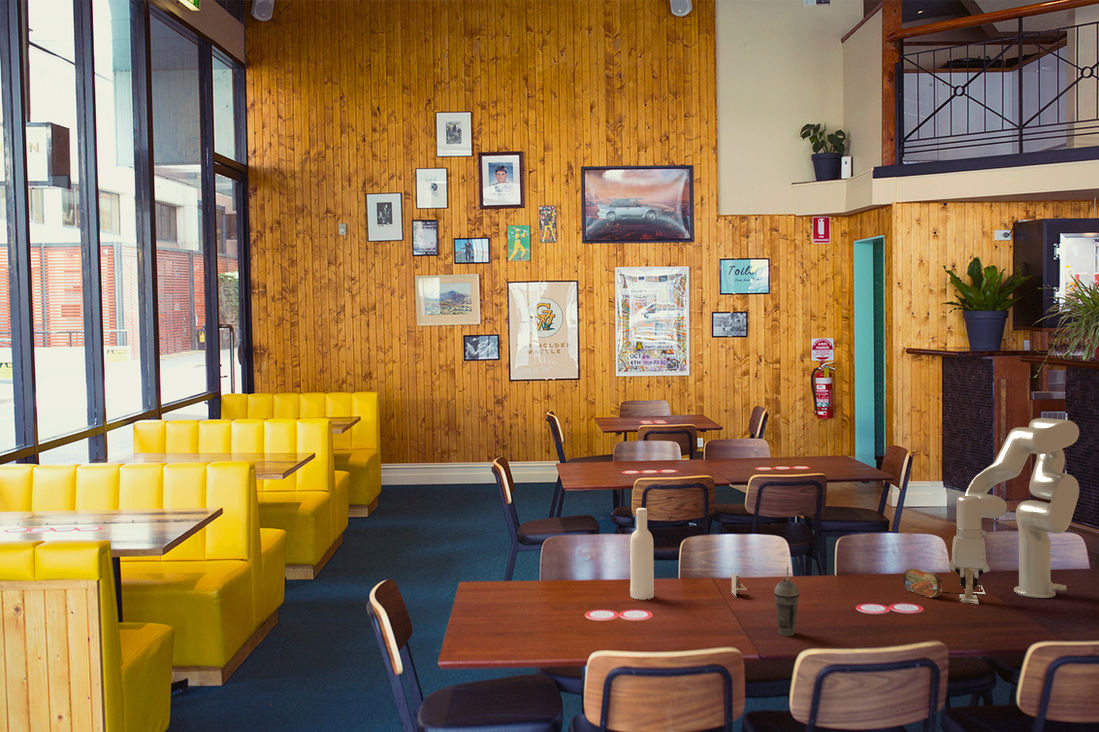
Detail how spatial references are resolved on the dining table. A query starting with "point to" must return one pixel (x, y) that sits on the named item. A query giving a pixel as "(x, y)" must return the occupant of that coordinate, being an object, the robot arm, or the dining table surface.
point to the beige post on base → (969, 588)
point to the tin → (922, 582)
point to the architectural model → (735, 584)
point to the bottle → (641, 559)
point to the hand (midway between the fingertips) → (968, 588)
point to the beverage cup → (786, 606)
